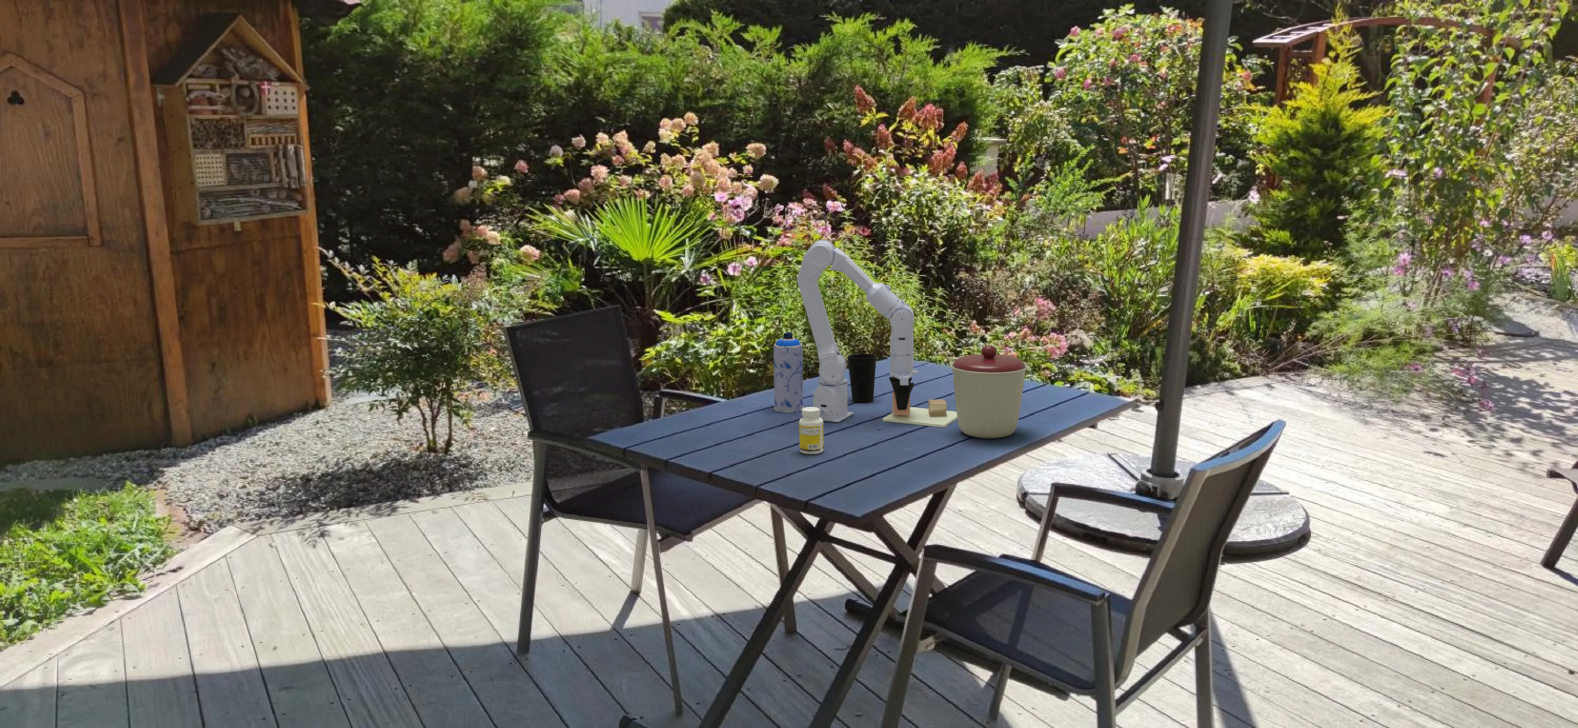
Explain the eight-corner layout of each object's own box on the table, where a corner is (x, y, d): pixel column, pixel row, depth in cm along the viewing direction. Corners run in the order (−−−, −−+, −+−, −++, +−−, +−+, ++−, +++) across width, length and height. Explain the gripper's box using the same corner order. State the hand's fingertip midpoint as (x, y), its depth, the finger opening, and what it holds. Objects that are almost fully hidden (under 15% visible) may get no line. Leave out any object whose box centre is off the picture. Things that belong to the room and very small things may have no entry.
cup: (877, 403, 298) (876, 358, 296) (847, 403, 298) (846, 358, 296) (877, 397, 305) (876, 353, 303) (849, 397, 306) (848, 353, 304)
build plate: (944, 427, 273) (944, 425, 273) (882, 420, 280) (882, 418, 280) (962, 414, 285) (962, 412, 285) (903, 408, 292) (903, 406, 292)
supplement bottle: (809, 446, 258) (809, 404, 256) (828, 450, 254) (828, 408, 252) (794, 452, 254) (794, 409, 252) (813, 456, 250) (813, 413, 248)
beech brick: (946, 416, 281) (946, 403, 280) (930, 416, 281) (930, 403, 280) (944, 412, 285) (944, 399, 284) (928, 412, 285) (928, 399, 284)
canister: (1026, 445, 257) (1029, 353, 253) (946, 441, 260) (947, 351, 256) (1026, 425, 274) (1028, 339, 270) (951, 422, 278) (952, 337, 274)
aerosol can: (806, 411, 291) (805, 334, 287) (776, 413, 290) (774, 335, 286) (801, 404, 298) (800, 329, 294) (771, 406, 297) (770, 330, 293)
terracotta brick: (909, 414, 281) (910, 395, 280) (893, 415, 281) (894, 395, 280) (908, 411, 285) (908, 391, 284) (892, 411, 285) (892, 391, 284)
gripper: (921, 359, 273) (920, 414, 276) (914, 348, 287) (914, 400, 290) (892, 359, 273) (891, 414, 276) (886, 348, 287) (886, 400, 290)
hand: (901, 407), depth 283 cm, fingers closed on terracotta brick, 4 cm apart
